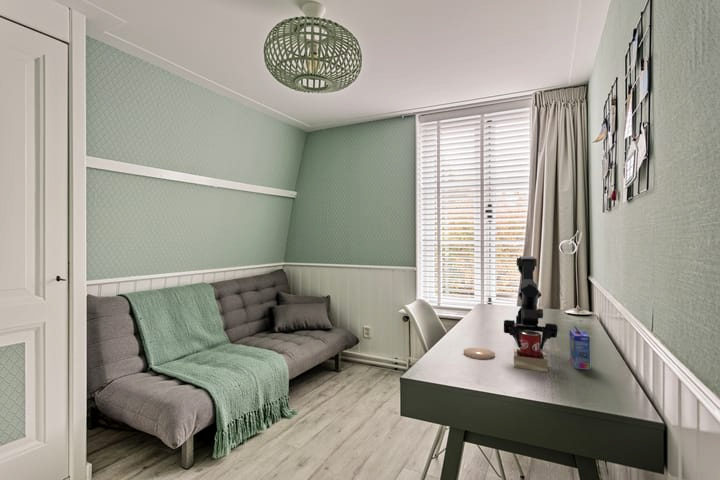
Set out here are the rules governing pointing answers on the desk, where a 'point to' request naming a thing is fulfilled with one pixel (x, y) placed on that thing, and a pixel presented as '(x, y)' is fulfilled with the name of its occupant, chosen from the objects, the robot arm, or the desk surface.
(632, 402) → the desk surface
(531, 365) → the birch box
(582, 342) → the ink cartridge box
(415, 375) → the desk surface
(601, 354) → the desk surface
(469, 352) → the coaster
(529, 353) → the soda can
